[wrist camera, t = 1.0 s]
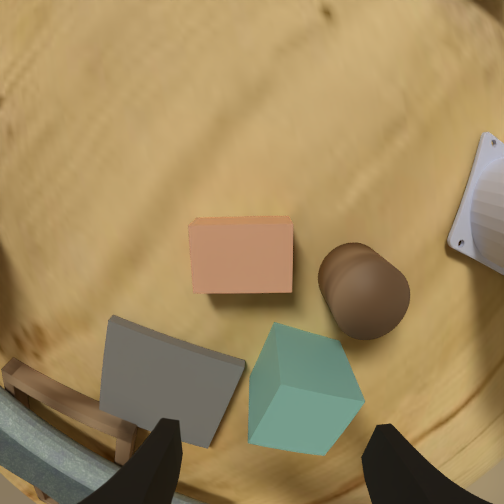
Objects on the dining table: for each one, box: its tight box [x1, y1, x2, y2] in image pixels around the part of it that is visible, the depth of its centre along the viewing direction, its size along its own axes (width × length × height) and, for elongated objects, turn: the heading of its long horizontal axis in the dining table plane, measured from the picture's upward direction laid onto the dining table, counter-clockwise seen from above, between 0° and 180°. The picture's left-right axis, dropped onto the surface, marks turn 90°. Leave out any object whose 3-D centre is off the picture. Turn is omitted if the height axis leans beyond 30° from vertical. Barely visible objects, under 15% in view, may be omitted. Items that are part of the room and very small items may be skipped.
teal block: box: [248, 322, 365, 456], centre depth 17 cm, size 4×4×6 cm
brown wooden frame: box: [1, 357, 138, 504], centre depth 24 cm, size 12×27×2 cm, turn 161°
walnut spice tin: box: [318, 243, 410, 340], centre depth 16 cm, size 4×4×4 cm
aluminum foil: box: [0, 386, 208, 504], centre depth 18 cm, size 23×7×3 cm
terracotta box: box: [188, 216, 293, 293], centre depth 17 cm, size 5×4×2 cm
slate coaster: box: [99, 315, 245, 449], centre depth 20 cm, size 9×9×1 cm
